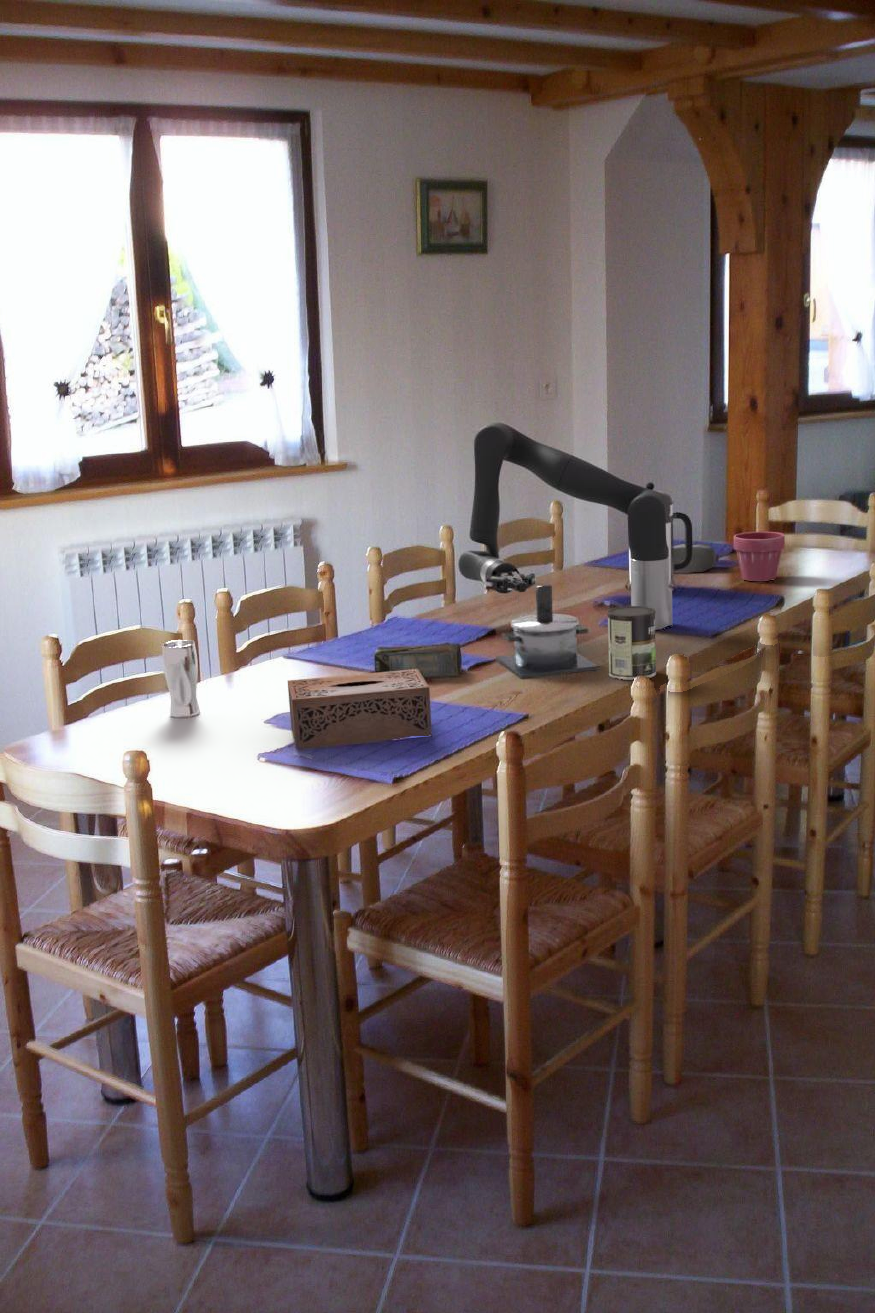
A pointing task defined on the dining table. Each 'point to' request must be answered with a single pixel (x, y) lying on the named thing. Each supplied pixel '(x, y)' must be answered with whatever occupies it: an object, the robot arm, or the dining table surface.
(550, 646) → the pot
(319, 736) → the tissue box cover
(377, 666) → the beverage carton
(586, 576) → the dining table surface
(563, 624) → the lid
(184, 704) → the crushed soda can
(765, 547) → the plant pot
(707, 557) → the grey dish
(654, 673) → the coffee can
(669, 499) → the coffee press
